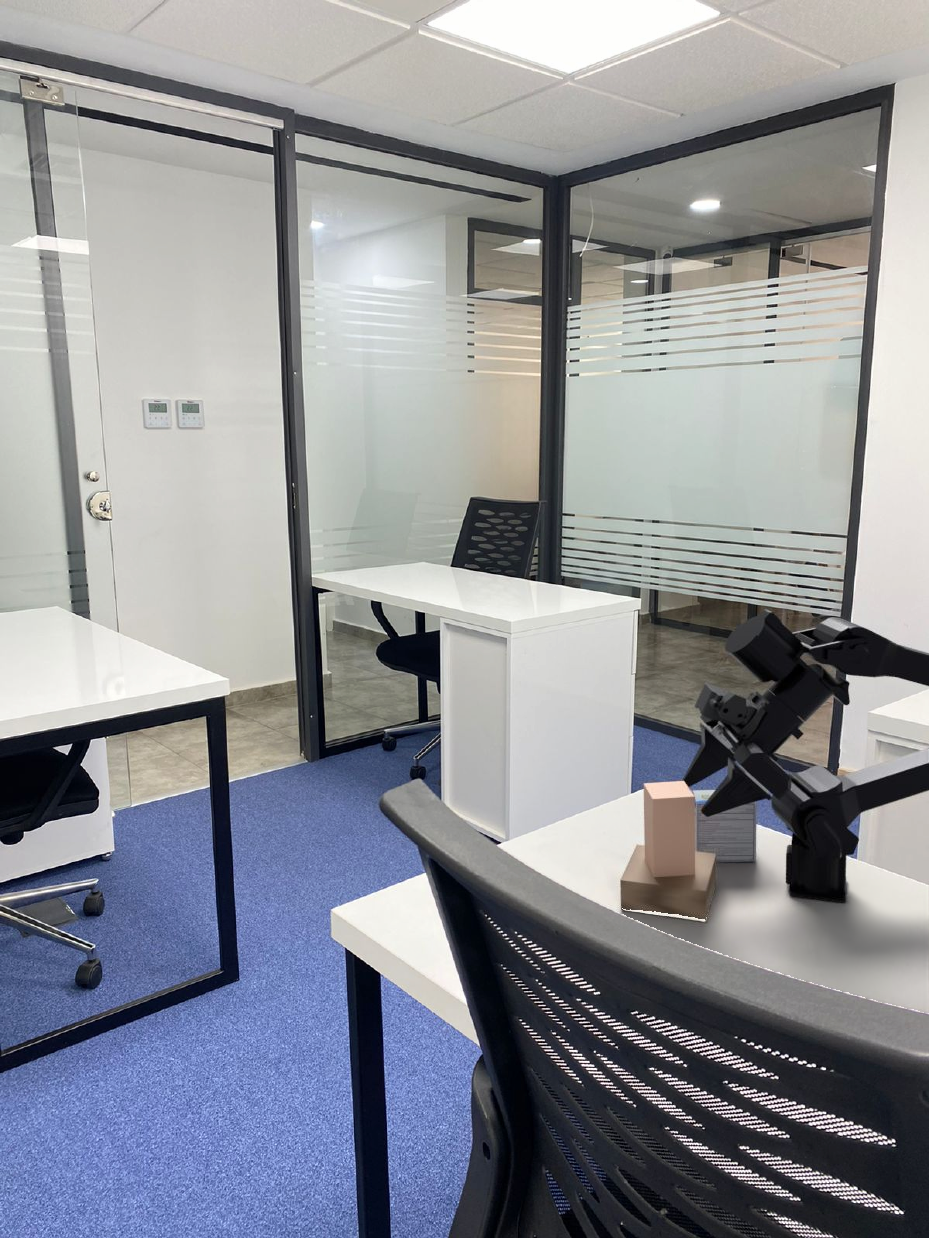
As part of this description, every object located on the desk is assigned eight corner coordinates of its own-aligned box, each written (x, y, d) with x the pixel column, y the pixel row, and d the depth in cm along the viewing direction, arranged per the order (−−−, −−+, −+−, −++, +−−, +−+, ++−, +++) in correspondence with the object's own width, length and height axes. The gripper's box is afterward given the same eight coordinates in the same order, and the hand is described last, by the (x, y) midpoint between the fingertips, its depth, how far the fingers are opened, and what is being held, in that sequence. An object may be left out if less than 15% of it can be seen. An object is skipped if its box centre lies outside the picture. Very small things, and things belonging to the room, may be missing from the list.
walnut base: (716, 882, 117) (716, 853, 116) (705, 922, 108) (705, 890, 107) (637, 872, 121) (636, 844, 120) (621, 910, 112) (620, 879, 111)
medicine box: (750, 848, 126) (750, 788, 124) (756, 863, 122) (757, 801, 120) (691, 848, 127) (690, 789, 125) (695, 863, 123) (695, 802, 121)
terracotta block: (684, 855, 116) (683, 780, 114) (695, 874, 111) (694, 796, 109) (644, 858, 116) (643, 783, 114) (653, 877, 111) (652, 798, 109)
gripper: (716, 644, 118) (631, 732, 120) (763, 683, 99) (662, 785, 102) (777, 700, 119) (692, 785, 121) (835, 748, 101) (734, 848, 103)
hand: (693, 798), depth 112 cm, fingers open, 9 cm apart
